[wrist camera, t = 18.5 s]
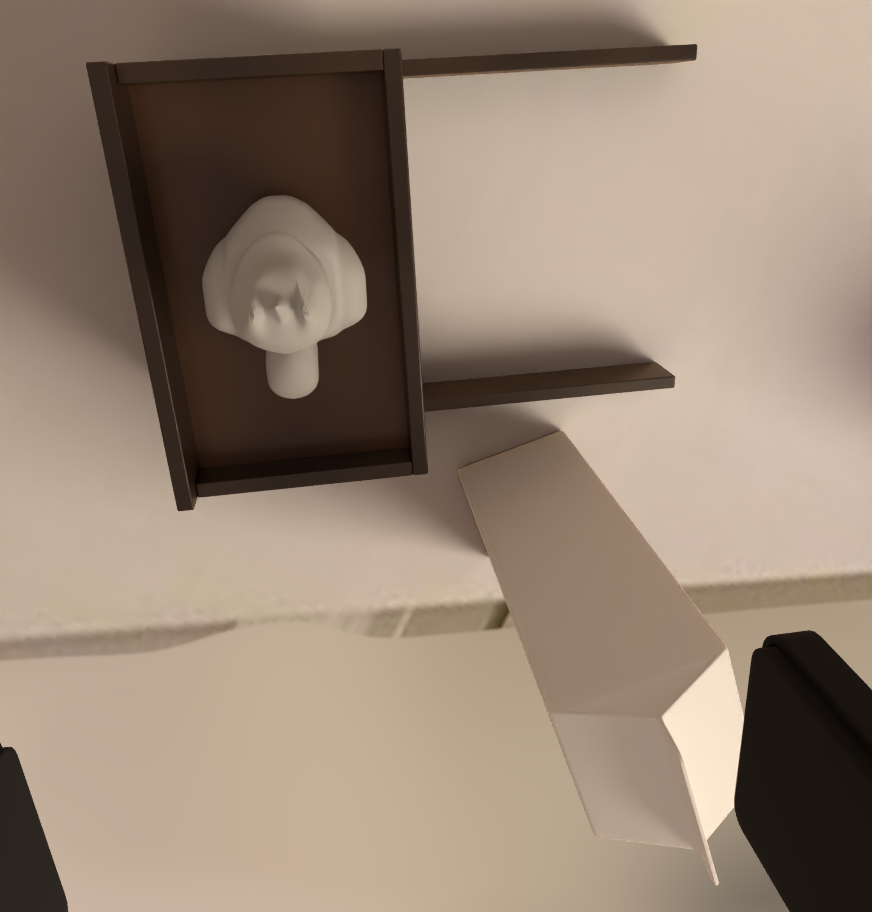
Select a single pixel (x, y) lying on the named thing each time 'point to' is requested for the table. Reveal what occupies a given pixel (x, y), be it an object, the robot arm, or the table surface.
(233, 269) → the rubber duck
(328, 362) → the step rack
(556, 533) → the milk
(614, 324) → the table surface
